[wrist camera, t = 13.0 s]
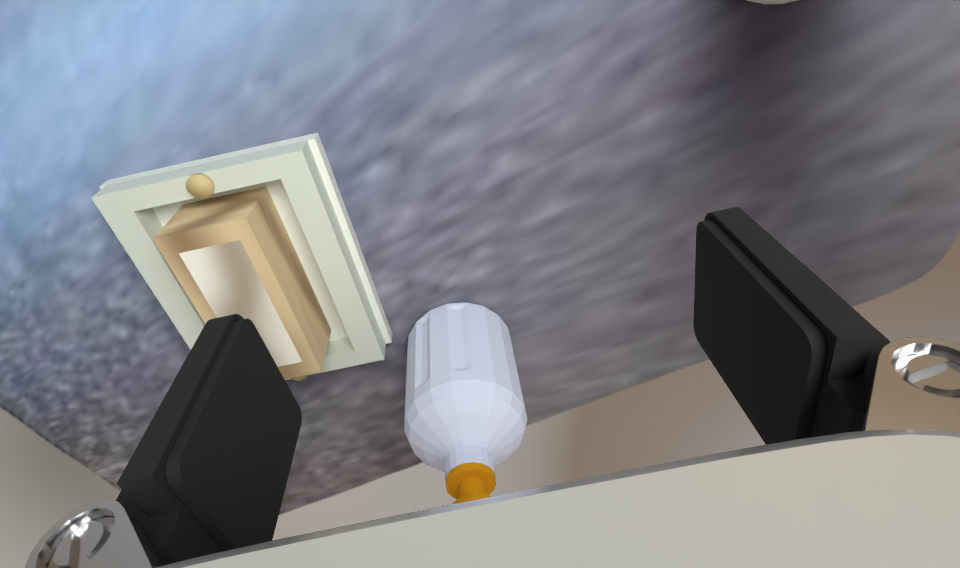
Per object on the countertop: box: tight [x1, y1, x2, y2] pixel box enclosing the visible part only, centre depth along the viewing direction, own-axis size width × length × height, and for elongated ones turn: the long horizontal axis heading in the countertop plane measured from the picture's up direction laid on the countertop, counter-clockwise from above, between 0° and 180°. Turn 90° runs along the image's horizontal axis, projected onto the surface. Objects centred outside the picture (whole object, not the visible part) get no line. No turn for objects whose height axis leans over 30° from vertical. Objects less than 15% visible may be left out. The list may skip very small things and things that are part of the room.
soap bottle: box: [404, 302, 527, 504], centre depth 38 cm, size 9×9×25 cm
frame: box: [153, 186, 331, 379], centre depth 39 cm, size 6×13×5 cm, turn 11°
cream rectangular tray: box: [91, 133, 392, 381], centre depth 41 cm, size 15×18×4 cm
